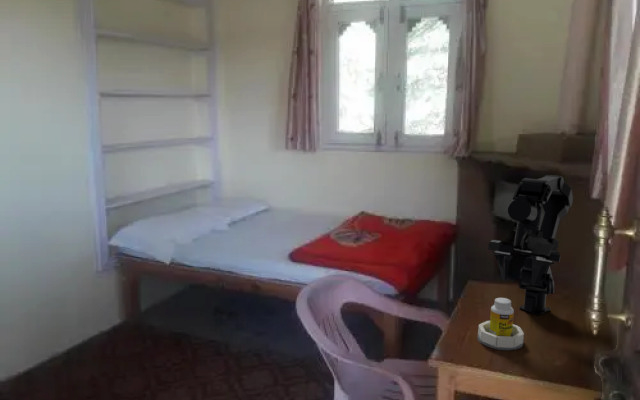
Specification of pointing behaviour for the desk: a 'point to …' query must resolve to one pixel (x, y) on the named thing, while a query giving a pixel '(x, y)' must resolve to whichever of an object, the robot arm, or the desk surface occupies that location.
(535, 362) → the desk surface
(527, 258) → the robot arm
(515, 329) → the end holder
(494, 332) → the supplement bottle
